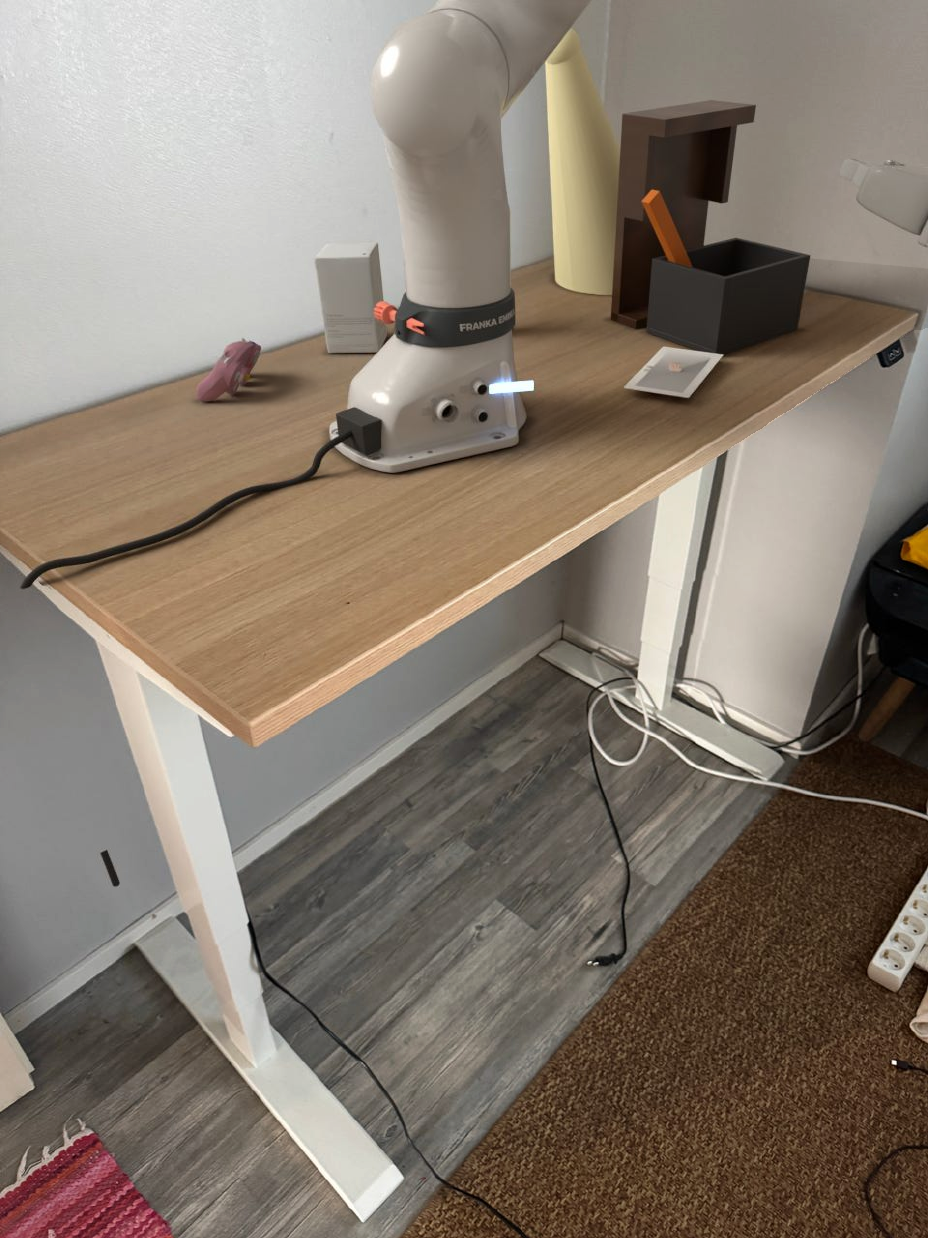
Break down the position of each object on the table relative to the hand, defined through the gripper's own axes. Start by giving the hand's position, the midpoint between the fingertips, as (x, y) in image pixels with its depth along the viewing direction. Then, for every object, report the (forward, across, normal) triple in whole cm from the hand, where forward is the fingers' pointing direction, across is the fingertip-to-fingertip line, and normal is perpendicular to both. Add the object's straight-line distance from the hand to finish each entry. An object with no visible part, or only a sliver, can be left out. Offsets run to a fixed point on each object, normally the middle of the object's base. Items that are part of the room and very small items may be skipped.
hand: (865, 166), depth 99 cm
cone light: (+39, -13, +30) cm, 51 cm away
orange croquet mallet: (+14, +1, +16) cm, 22 cm away
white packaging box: (+44, +30, +38) cm, 65 cm away
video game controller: (+42, +50, +41) cm, 77 cm away
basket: (+12, -6, +25) cm, 28 cm away
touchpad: (+6, +12, +27) cm, 30 cm away
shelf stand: (+21, -7, +27) cm, 35 cm away
